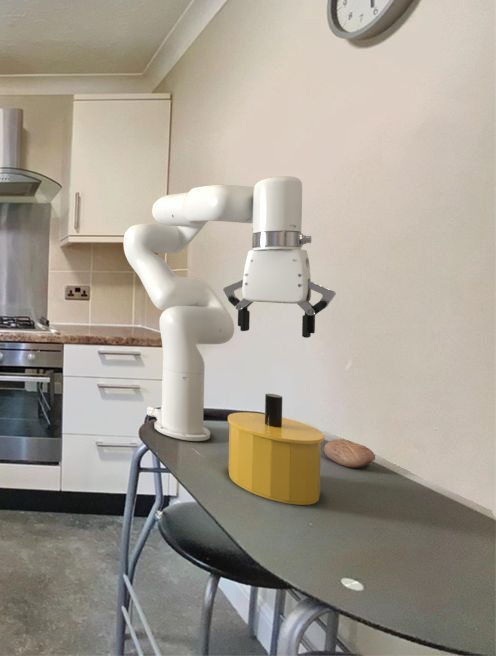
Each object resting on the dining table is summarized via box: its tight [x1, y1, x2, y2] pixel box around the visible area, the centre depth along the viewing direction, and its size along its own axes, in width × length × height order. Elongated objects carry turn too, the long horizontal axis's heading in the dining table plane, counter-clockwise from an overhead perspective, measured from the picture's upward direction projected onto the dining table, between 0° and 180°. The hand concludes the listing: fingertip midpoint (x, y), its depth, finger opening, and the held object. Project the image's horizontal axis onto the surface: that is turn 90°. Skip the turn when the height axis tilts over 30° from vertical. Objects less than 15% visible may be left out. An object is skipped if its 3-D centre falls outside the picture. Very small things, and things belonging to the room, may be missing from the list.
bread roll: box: [323, 438, 376, 469], centre depth 86 cm, size 8×6×8 cm
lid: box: [227, 393, 325, 444], centre depth 75 cm, size 15×15×7 cm
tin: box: [227, 422, 322, 506], centre depth 75 cm, size 14×14×10 cm
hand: (274, 333), depth 75 cm, fingers open, 9 cm apart
